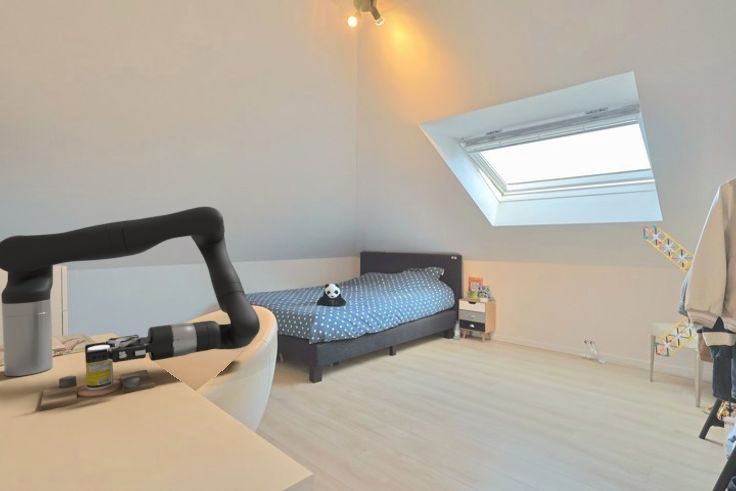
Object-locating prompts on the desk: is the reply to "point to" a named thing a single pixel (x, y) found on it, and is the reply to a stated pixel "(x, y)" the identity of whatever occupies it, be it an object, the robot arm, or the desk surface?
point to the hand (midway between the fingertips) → (85, 353)
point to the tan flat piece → (69, 392)
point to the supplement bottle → (99, 371)
